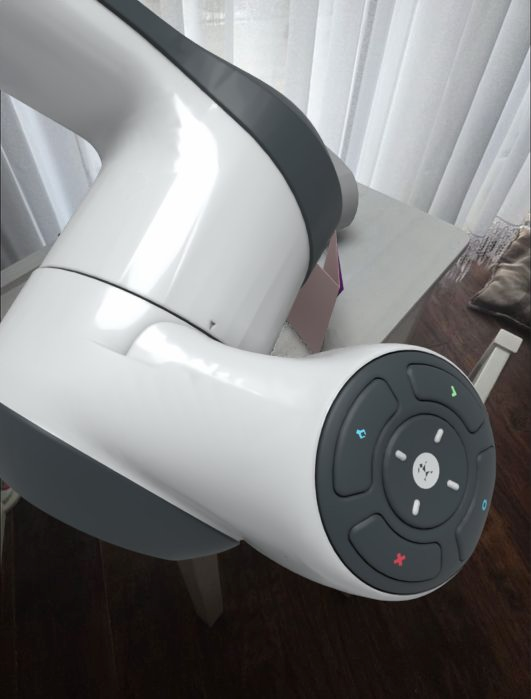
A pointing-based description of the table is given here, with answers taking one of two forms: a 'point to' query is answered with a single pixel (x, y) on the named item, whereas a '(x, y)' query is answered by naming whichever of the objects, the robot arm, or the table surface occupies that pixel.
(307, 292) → the greeting card
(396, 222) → the table surface
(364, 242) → the table surface
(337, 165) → the alarm clock
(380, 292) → the table surface
